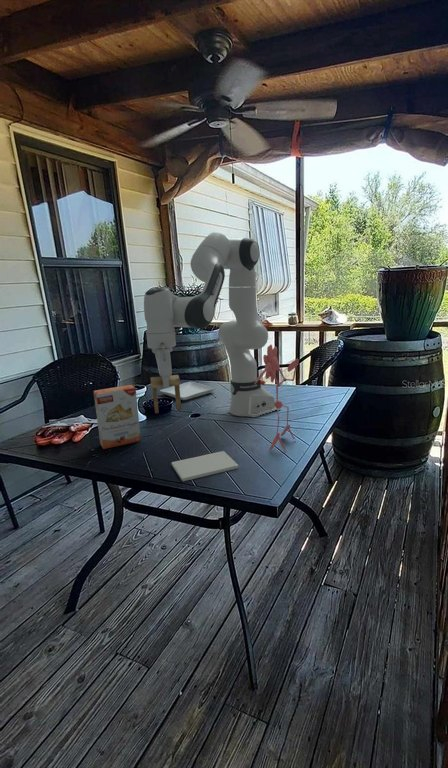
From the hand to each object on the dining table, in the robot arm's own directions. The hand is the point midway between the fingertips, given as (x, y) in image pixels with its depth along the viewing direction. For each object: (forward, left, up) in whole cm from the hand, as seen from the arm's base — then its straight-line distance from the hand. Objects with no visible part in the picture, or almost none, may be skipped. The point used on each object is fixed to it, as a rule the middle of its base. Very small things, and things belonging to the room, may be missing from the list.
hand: (165, 383), depth 130 cm
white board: (-7, +13, -25) cm, 29 cm away
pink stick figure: (-34, +7, -25) cm, 43 cm away
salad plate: (-27, -69, -26) cm, 78 cm away
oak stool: (0, 0, -9) cm, 9 cm away
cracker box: (+14, -20, -25) cm, 35 cm away
